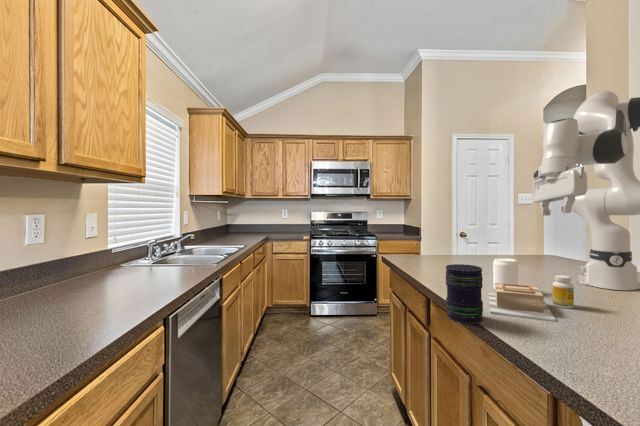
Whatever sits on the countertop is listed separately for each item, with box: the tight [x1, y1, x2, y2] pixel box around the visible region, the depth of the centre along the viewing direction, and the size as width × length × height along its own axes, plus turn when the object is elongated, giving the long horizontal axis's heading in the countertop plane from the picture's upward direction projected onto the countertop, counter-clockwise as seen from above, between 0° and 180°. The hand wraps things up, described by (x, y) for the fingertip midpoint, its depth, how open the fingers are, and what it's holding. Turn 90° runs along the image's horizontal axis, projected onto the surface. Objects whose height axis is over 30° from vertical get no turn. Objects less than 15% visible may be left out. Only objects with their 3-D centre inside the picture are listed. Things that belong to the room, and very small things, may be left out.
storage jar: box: [445, 263, 484, 325], centre depth 89 cm, size 10×10×15 cm
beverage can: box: [492, 257, 519, 290], centre depth 116 cm, size 8×8×12 cm
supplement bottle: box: [552, 274, 575, 309], centre depth 98 cm, size 5×5×10 cm
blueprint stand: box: [487, 283, 556, 322], centre depth 98 cm, size 22×16×6 cm
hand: (555, 214), depth 93 cm, fingers open, 8 cm apart
